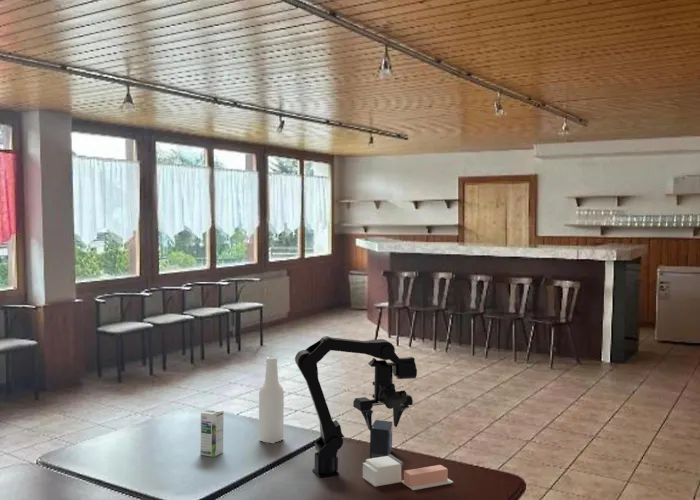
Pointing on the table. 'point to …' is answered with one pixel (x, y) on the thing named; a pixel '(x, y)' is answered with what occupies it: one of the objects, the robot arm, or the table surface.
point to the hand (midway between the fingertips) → (382, 428)
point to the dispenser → (382, 470)
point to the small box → (380, 439)
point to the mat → (429, 484)
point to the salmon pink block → (425, 475)
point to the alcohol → (271, 405)
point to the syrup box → (211, 432)
